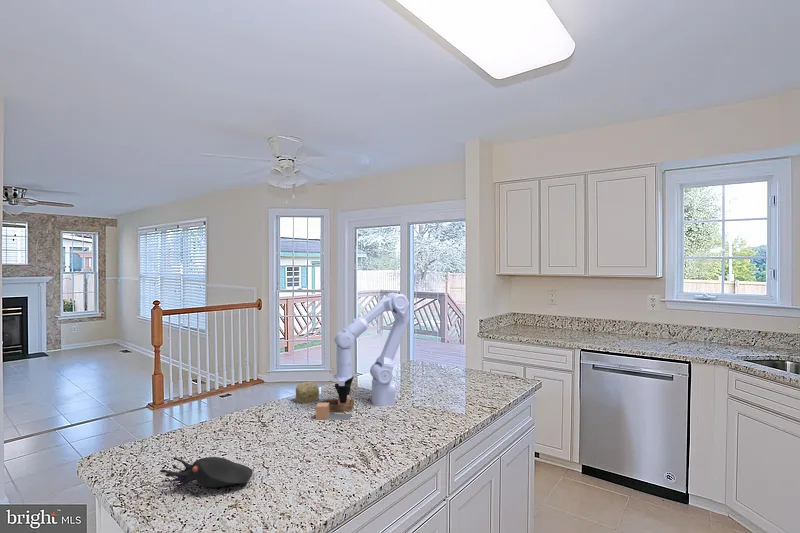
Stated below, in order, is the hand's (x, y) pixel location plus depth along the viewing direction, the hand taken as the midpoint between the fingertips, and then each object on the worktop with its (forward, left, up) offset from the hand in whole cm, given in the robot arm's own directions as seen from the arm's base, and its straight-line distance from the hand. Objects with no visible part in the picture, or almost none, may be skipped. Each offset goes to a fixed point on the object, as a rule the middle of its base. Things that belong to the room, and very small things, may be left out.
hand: (344, 399), depth 160 cm
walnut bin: (+3, 0, -4) cm, 5 cm away
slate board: (+3, +9, -4) cm, 10 cm away
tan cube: (+7, +9, -3) cm, 12 cm away
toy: (+27, +53, -4) cm, 59 cm away
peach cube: (0, 0, -3) cm, 4 cm away
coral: (+17, -9, -4) cm, 20 cm away
